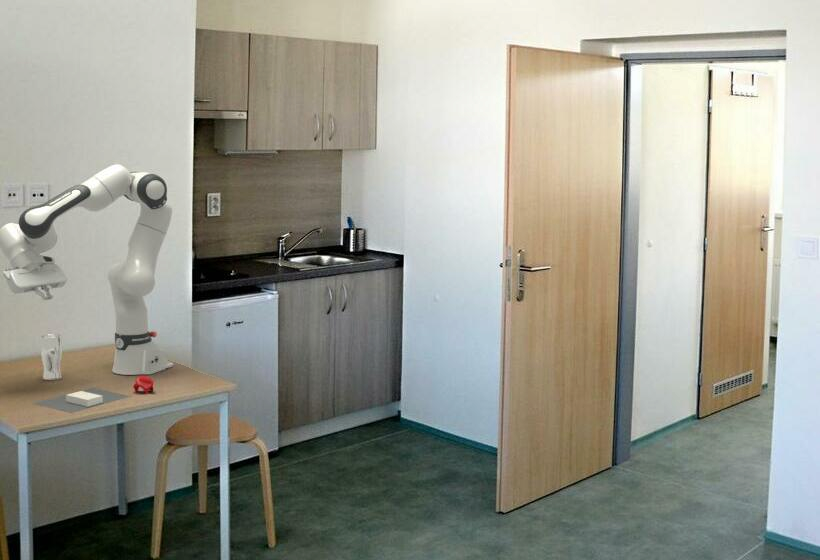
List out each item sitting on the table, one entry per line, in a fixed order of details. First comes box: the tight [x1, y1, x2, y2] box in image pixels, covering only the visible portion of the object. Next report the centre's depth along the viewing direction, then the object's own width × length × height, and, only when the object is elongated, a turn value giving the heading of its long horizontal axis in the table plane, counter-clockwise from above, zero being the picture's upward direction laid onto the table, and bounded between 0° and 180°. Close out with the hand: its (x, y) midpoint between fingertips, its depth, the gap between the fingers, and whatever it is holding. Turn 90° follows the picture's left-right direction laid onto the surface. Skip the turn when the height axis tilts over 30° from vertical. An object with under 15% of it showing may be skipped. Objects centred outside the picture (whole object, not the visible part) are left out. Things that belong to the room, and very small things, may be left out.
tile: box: [65, 390, 103, 407], centre depth 326 cm, size 6×2×10 cm
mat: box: [33, 387, 131, 414], centre depth 330 cm, size 24×18×1 cm
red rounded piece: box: [133, 375, 154, 394], centre depth 341 cm, size 8×6×6 cm
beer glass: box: [40, 333, 63, 381], centre depth 357 cm, size 7×7×15 cm
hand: (48, 298), depth 336 cm, fingers closed
